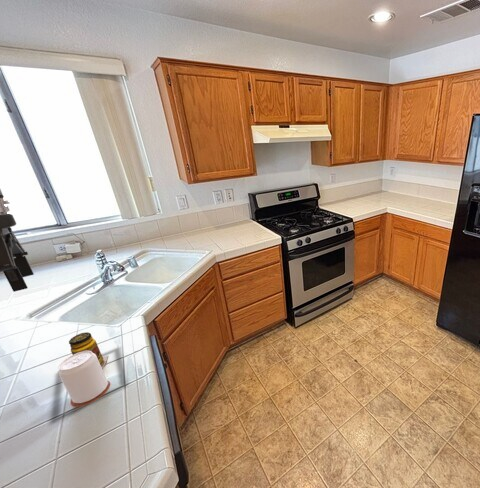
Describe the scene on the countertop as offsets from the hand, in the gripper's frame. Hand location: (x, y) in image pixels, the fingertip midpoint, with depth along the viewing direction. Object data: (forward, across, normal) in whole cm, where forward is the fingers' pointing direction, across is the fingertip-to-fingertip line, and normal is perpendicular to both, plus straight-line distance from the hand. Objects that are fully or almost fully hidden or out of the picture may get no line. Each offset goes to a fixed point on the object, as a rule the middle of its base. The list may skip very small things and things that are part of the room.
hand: (24, 282), depth 80 cm
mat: (+31, -19, -7) cm, 37 cm away
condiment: (+30, -12, -7) cm, 33 cm away
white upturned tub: (+30, -25, -7) cm, 40 cm away
